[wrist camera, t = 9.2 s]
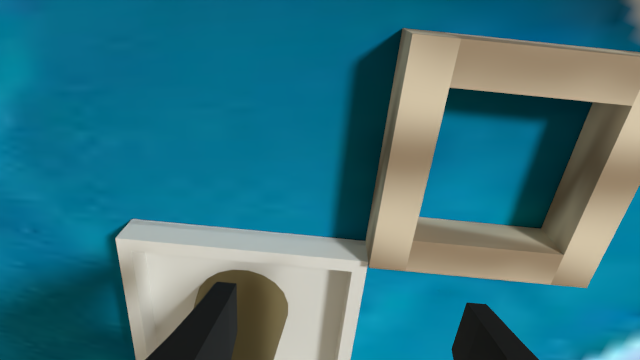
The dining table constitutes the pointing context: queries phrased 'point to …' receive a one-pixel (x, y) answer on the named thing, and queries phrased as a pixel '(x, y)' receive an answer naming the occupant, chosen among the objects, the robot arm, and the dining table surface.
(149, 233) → the tray
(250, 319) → the olive tall rounded piece
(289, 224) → the dining table surface
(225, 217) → the dining table surface
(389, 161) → the frame
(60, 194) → the dining table surface
